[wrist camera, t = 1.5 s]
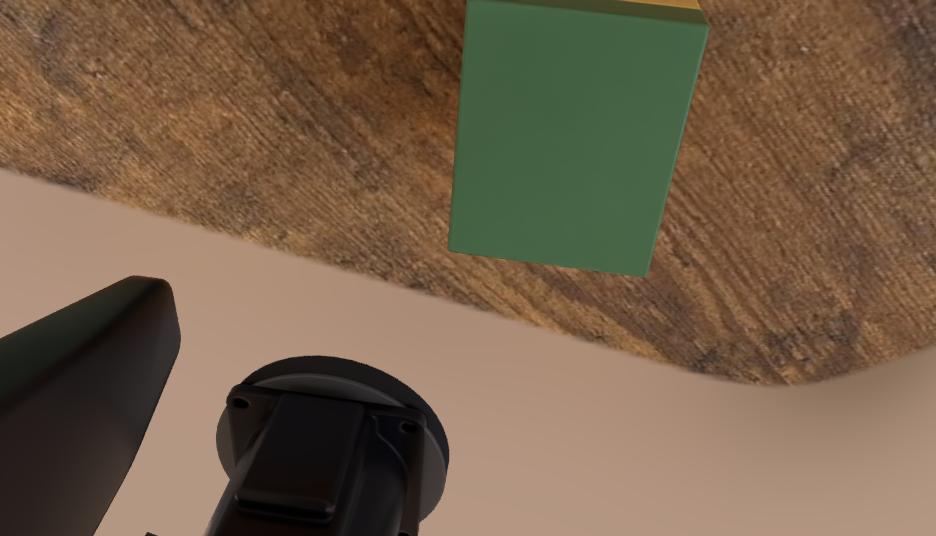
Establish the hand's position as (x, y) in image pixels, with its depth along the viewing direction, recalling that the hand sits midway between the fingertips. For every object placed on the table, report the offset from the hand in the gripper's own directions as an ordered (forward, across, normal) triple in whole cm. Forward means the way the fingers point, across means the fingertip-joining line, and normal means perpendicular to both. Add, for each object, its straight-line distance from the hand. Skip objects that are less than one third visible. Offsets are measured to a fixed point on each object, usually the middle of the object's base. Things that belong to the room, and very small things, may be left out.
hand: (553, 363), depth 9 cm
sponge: (+11, 0, 0) cm, 11 cm away
